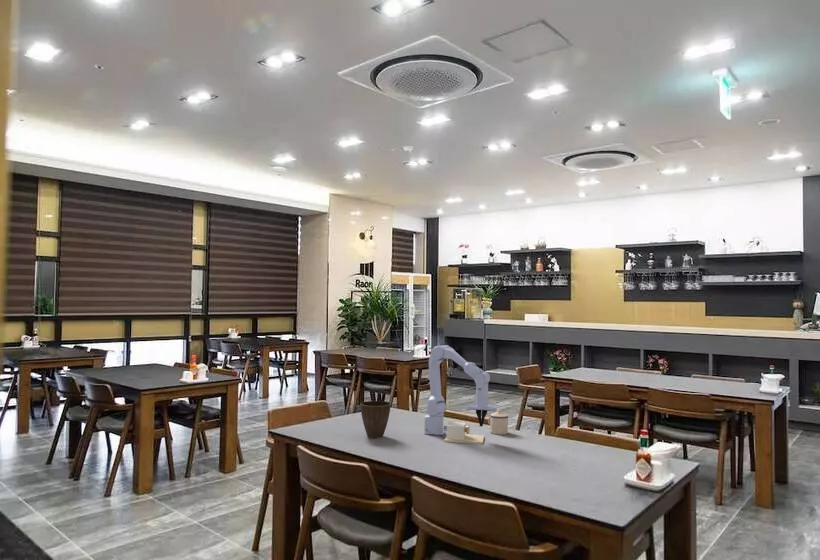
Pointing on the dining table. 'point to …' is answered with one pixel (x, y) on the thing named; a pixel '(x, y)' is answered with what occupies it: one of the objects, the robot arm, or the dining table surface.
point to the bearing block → (461, 434)
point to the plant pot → (375, 417)
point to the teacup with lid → (498, 423)
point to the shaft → (466, 429)
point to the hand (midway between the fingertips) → (481, 425)
